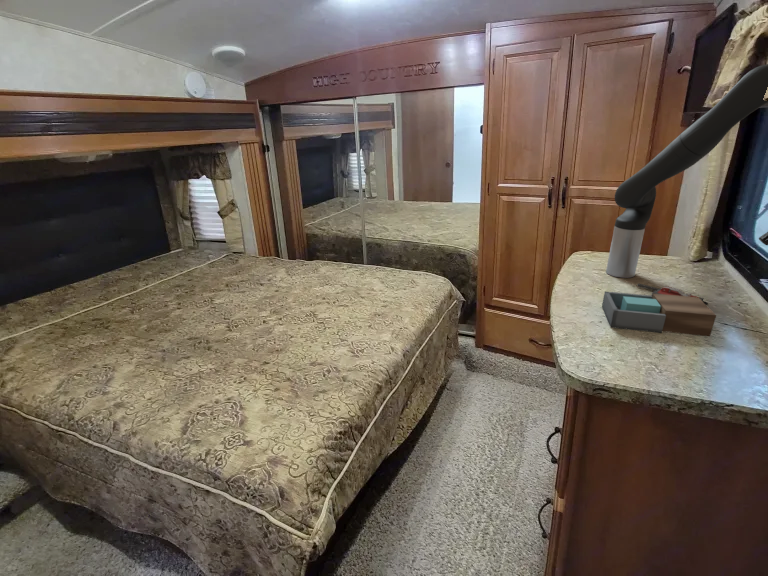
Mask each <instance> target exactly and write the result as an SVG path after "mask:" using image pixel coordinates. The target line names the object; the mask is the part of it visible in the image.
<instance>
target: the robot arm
mask: <svg viewBox="0 0 768 576" xmlns="http://www.w3.org/2000/svg"><path fill="white" fill-rule="evenodd" d="M767 87H768V63H767V64H762V65H759V66H757V67H754V68H753V69H751V70H749V71H748V72H747V73H746V74H744V75H743V76H742V77H741V79H739V81H738V82H736V84H735V85H733V87H732V88H731V89H730V90H729V91H728V92H727V93H726V94H725V95H724V96H723V97H722V98H721V99H720V100H719V101H718V102H717V103H716V104H715V105H714V106H713V107H712V108H711V109H710V110H708V111H707V112H706V113H704V114H703V115H702V116H701V117H699V118H698V119H696V121H694V122H693V123H692V124H691V125H690V126H688V127H687V128H686V129H685V130H684V131H682V132H681V133H680V134H679V135H678V136H677V137H676V138H674V140H672V141H671V142H670V143H669V144H668V145H667V146H666V147H665V148H664V149H663V150H662V151H660V152H659V153H658V154H657V155H656V156H655V157H653V159H651V160H650V161H649V162H648V163H647V164H645V166H644V167H642V168H640V169H639V170H638V171H637V172H636V173H635V174H633V175H632V176H630V177H629V178H628V179H627V178H626V180H624V181H623V182H622V183H621V184H620V185H618V187H617V189H616V191H615V193H614V202H615V204H616V205H617V206H618V207H620V208H622V209H625V210H624V211H623V212H622V214H620V215H619V216H617V218H616V219H615V223H614V226H613V233H612V239H611V243H610V249H609V254H608V260H607V263H606V269H605V273H606V274H608V275H610V276H612V277H616V278H626V279H627V278H629V279H630V278H634V277H635V275H636V271H637V266H638V262H639V258H640V254H641V248H642V243H643V239H644V235H645V229H646V226H647V224H648V222H649V221H650V219H651V216H652V213H653V209H654V206H655V201H656V197H657V188H656V187H657V186H658V185H660V184H661V183H663V182H664V181H667V180H668V179H671V178H672V177H674V176H676V175H679V174H680V173H682V172H685V171H686V170H687V169H690V168H691V167H692V166H694V165H695V164H697V163H698V162H700V161H701V159H703V158H704V157H705V156H707V155H709V153H711V152H712V151H713V150H714V149H715V148H716V146H717V145H719V144H720V142H721V141H722V140H723V139H724V137H726V135H727V134H728V133H729V132H730V131H731V130H732V129H733V127H735V126H736V125H737V124H738V123H740V122H741V121H743V120H744V119H745V118H746V117H748V116H749V115H750V114H752V113H753V112H755V111H757V110H758V109H760V108H762V107H763V106H765V105H767V104H768V101H764V100H763V98H764V95H765V93H766V90H767ZM758 240H759V241H760V242H761V243H762V244H763V245H765V246H768V231H767V232H765V233H763V234H762V235H761V236H759V237H758Z"/></svg>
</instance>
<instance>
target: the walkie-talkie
mask: <svg viewBox="0 0 768 576" xmlns="http://www.w3.org/2000/svg"><path fill="white" fill-rule="evenodd" d="M636 285H637V287H639V288H644V289H646V290H650V291H652V293H651V296H652V295H653V293H654V294H665V295H677V296H689V297H699V296H697V295H692V292H688V293H685V292H684V291H683V290H682V289H680V288H676V287H671V286H668V285H666V286H664V287H660V288H657V287H654V286H652V285H651V286H650V285H646V284H642V283H637V284H636ZM699 298H700V299H701V300H702V301H703V302H704V303H705V304H706V305H707V306H708V301H705V298H704V297H699Z"/></svg>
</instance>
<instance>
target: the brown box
mask: <svg viewBox="0 0 768 576" xmlns="http://www.w3.org/2000/svg"><path fill="white" fill-rule="evenodd" d="M652 293H653V292H652ZM651 296H652V299H656V300H657V302H658V303H659V304H660V306H661V309H660V312H659V314H665V315H666V318H665V322H664V326H663V330H662V333H663V332H665V333H672V334H673V333H674V334H682V335H691V336H702V337H711V335H712V331H713V327H714V324H715V321H716V318H717V314H715V312H714V311H713V310H712V309H711V308H710V307H709V306H708V305H706V304H705V303H704V302H703V301H704V300H703V301H702V300H701V299H700V298H701V297H700V298H699V296H697V297H689V296H677V295H665V294H654V293H653V295H652V294H651Z"/></svg>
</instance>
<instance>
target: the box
mask: <svg viewBox="0 0 768 576" xmlns="http://www.w3.org/2000/svg"><path fill="white" fill-rule="evenodd" d="M623 296H625V297H636V298H647V299H652V294H651V295H650V294H649V295H648V294H638V293H628V292H615V291H604V293H603V298H602V299H603V300H602V304H601V309H602V311H603V313H604V315H605V318H606V320H607V323H608V325H609V328H611V329H612V328H613V329H620V330H630V331H640V332H649V333H656V334H657V333H659V334H662V333H663V332H662V330H663V326H664V322H665V318H666V315H665V314H659V313H648V312H638V311H628V310H620V309H621V305H622V300H623Z"/></svg>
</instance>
